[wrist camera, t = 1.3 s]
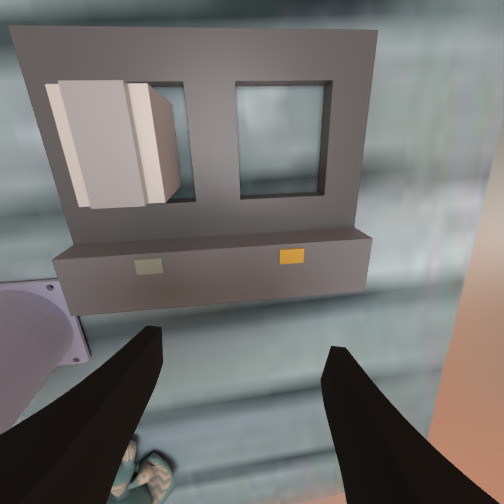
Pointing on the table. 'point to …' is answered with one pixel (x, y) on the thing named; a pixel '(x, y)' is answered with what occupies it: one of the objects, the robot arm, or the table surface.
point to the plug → (116, 142)
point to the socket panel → (211, 168)
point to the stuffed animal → (142, 480)
